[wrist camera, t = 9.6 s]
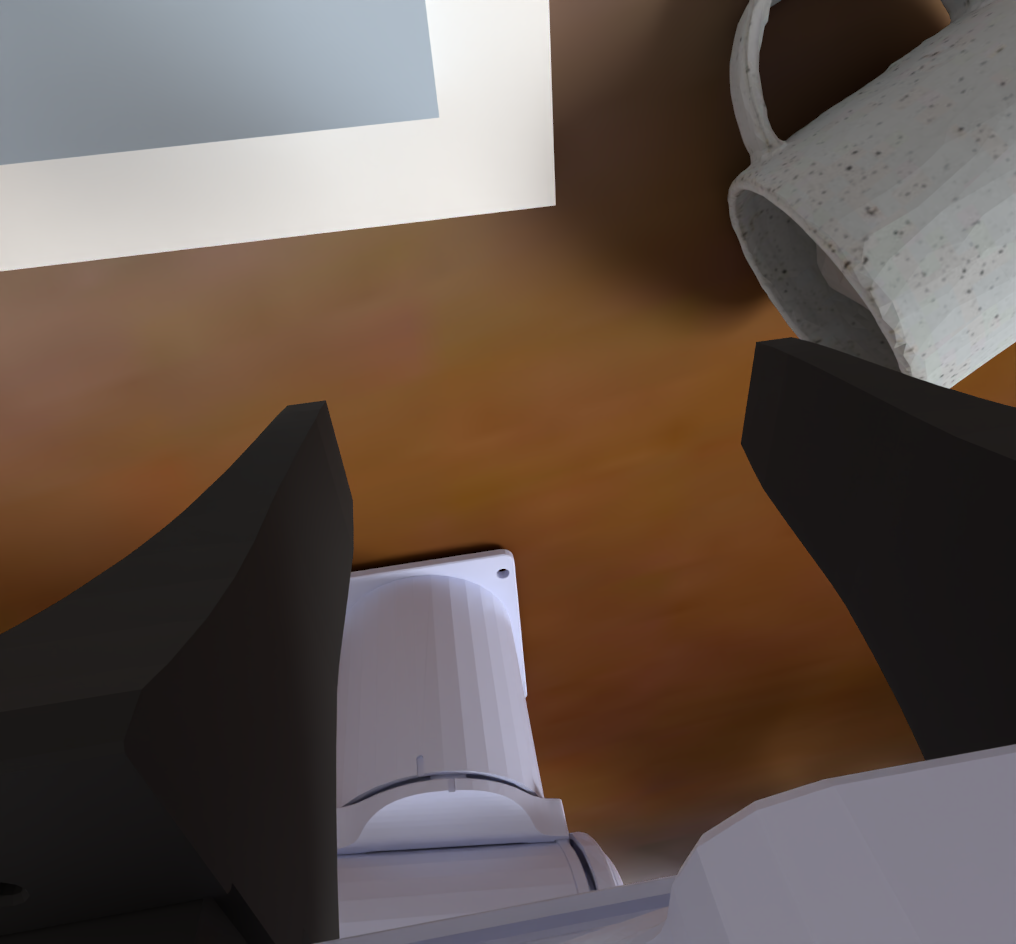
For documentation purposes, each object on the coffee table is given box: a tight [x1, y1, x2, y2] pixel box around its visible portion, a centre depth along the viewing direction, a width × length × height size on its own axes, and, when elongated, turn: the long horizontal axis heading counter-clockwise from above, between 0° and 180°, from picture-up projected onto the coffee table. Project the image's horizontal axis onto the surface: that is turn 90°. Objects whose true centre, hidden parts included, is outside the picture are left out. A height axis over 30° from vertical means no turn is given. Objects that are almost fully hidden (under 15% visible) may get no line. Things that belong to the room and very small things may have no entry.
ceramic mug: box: [728, 0, 1016, 389], centre depth 17 cm, size 11×8×8 cm
